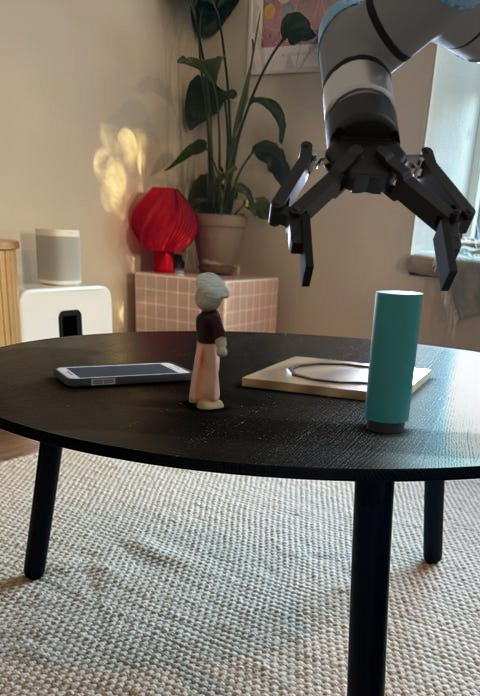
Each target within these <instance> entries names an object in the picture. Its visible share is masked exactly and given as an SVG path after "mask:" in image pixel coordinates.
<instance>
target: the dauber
mask: <svg viewBox="0 0 480 696" xmlns="http://www.w3.org/2000/svg"><path fill="white" fill-rule="evenodd" d="M374 297H375V298H374V306H373V309H374V310H373V319H372V329H371V339H370V349H369V350H370V351H369V358H368V359H369V361H368V364H369V370H368V380H367V391H366V401H364V402H365V403H364V413H363V418H364V419H366V425H365V427H366V430H368V431H370V432H373V433H378V434H385V435H387V434H388V435H389V434H390V435H391V434H394V435H395V434H401V433H403V432H404V431H405V425H406V423H407V422H409V420H410V411H411V403H412V395H413V393H412V387H413V378H414V370H415V368H416V361H417V360H416V359H417V352H418V344H419V343H418V342H419V335H420V327H421V326H420V325H421V317H422V309H423V301H424V292H419V291H411V290H409V291H408V290H391V289H390V290H388V289H387V290H386V289H385V290H376V291H375V296H374Z"/></svg>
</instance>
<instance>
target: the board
mask: <svg viewBox="0 0 480 696" xmlns="http://www.w3.org/2000/svg"><path fill="white" fill-rule="evenodd" d="M368 370H369V362H368V363H367V362H358V361H357V362H356V361H348V360H339V359H338V360H336V359H330V358H329V359H328V358H318V357H307V356H299V355H295V356H292V357H290V358H288V359H285V360H282V361H280V362H277V363H275V364H273V365H270V366H267V367H265V368H262V369H260V370H257V371H255V372H253V373H252V372H251V373H250V374H246V375H245V376H242V377H241V386H242V387H246V388H247V387H248V388H253V389H254V388H255V389H263V390H264V389H265V390H273V391H280V392H289V393H298V394H305V395H312V396H313V395H314V396H323V397H329V398H330V397H331V398H340V399H347V400H356V401H363V402H365V401H366V391H367V380H368ZM431 375H432V369H429V368H428V369H427V368H418V367H417V368H416V367H415V370H414V378H413V387H412V394H413V393H415V392H416V391H417V390H418V389H419V388H420V387H422V386H423V384H425V383H426V382H428V380H429V379H430V378H431Z"/></svg>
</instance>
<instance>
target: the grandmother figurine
mask: <svg viewBox="0 0 480 696" xmlns="http://www.w3.org/2000/svg"><path fill="white" fill-rule="evenodd" d="M195 286H196V288H197V289H196V291H195V293H194V302H195V305H196V306H197V308H198V309H200V310H201V312H199V313H198V314H197V315H196V318H195V332H196V348H195V355H194V361H193V366H192V367H193V368H192V378H191V380H190V385H189V386H190V387H189V395H188V402H189V403H191V404H196V408H197V409H199V410H206V411H208V410H217V409H224V407H225V405H224V403H223V401H222V400H220V395H221V393H220V392H221V391H220V390H221V389H220V379H219V370H220V362H221V361H220V360H221V358H226V356H227V355H228V349H227V345H228V343H227V340H228V335H227V333H226V330H225V327H224V324H223V321H222V318H221V314H220V312H219V310H218V308H220V306H221V304H222V302H223V300H224V299H225V300H226V299H228V298H230V296H231V292H230V291H229V288H228V287H227V285H226V283H225V281H224V280H223V278H221V277H220V276H219V275H218V274H217V273H214V272H211V271H210V272H209V271H208V272H202V273H199V274H198V275H197V276H196V279H195Z"/></svg>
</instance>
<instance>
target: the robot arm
mask: <svg viewBox="0 0 480 696" xmlns="http://www.w3.org/2000/svg"><path fill="white" fill-rule="evenodd" d="M317 39H318V40H317V49H316V50H317V51H316V56H317V58H316V59H317V63H318V64H317V65H318V66H319V71H320V79H321V88H322V89H321V90H322V91H321V95H322V104H323V105H322V106H323V117H324V118H323V119H324V126H325V127H324V132H325V142H326V150H321V149H315V148H314V149H313V147H314V146H313V143H312V142H311V141H308V140H304V141H302V142H301V143H300V146H299V153H298V158H297V160H296V161H295V163H294V165H293V166H292V168H291V169H290V171H289V173H288V174H287V176H286V177H285V178H284V181H282V184H281V185H280V187H279V188H278V190H277V192H276V193H275V195H274V196H273V198H272V199H271V201H270V206H269V215H268V224H269V226H271V227H275V228H276V227H279V226H283V227H284V228H285V236H286V237H287V242H288V243H287V244H288V251H289V253H290V254H291V255H299V267H300V282H301V287H306V288H307V287H308V288H309V287H310V286H311V281H312V277H313V272H314V269H315V264H314V263H315V262H314V251H313V250H314V249H313V237H312V222H311V219H313V217H314V216H315V215H317V214H318V213H319V212H320V211H321V210H322V209H323V208H325V206H326V205H328V203H329V202H331V201H332V200H333V199H334V200H336V199H337V198H338V197H339V196H341V195H342V194H343V193H344V192H345V191H346V190H347V191H350V194H364V193H367V194H371V195H381V194H382V193H383V194H384V195H385V196H386V197H387V198H388V199H390V200H391V201H392V202H397V201H398V202H399V203H400V204H401V205H402V206H404V207H405V208H406V209H408V210H409V211H410V212H411V213H412V214H414V215H415V216H416V217H417V218H418V219H419V220H421V222H423V223H424V224H425V225H427V226H428V227H429V228H430V229H431V230H433V231H434V232H435V233H434V236H433V238H432V243H433V244H432V245H433V249H434V256H435V262H436V268H437V275H438V281H439V287H440V292H449V291H450V290H451V286H452V285H453V283H454V280H455V278H456V276H457V275H458V272H459V271H458V265H457V258H458V256H459V253H460V251H461V250H462V238H461V235H465V234H467V233H468V231H469V229H470V226H471V224H472V222H473V220H474V218H475V216H476V213H477V211H476V209H475V208H474V206H473V205H472V204H471V203H470V201H469V200H468V199H467V198H466V197H465V195H463V193H462V192H461V191H460V189H459V188H458V187H457V185H456V184H455V183H454V181H452V179H451V178H450V177H449V176H448V175H447V173H446V172H445V171H444V170H443V168H442V167H441V166H440V165H439V164H438V161H437V159H436V157H435V153H434V150H433V149H432V148H431V147H429V146H423V147H422V148H421V150H420V153H418V154H407V153H406V152H405V150H404V149H403V148H402V146H401V136H400V135H401V134H400V128H399V120H398V115H397V106H396V100H395V93H394V87H393V81H392V74H393V73H394V72H396V71H397V70H398V69H399V68H400V67H402V66H403V65H404V64H405V63H406V62H408V61H410V59H412V58H413V57H414V56H415V55H416V54H418V53H419V52H420V51H422V49H424V48H425V47H427V45H429V44H430V43H433V44H435V45H437V46H439V47H441V48H443V49H445V50H448V51H449V52H451V53H453V54H454V55H455V57H457V58H459V59H461V60H463V61H466V62H469V63H476V64H480V0H338V1H336V2H335V3H333V4H332V5H331V6H330V7H329V8H328V9H327V11H325V13H324V15H323V17H322V19H321V22H320V24H319V27H318V36H317ZM320 166H323V168H324V170H325V171H326V172H327V173H326V174H324V176H322V177H321V178H320V179H319V180H318V181H316V183H314V184H313V185H312V187H310V188H309V189H308V190H307V191H305V193H304V194H302V195H301V196H300V197H299V198H297V197H298V196H299V194H300V193H301V191H302V190H303V188H304V186H305V184H306V183H307V181H308V178H309V175H310V176H312V175H314V172H315V171H317V170H318V168H319V167H320ZM296 199H297V200H296Z"/></svg>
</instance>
